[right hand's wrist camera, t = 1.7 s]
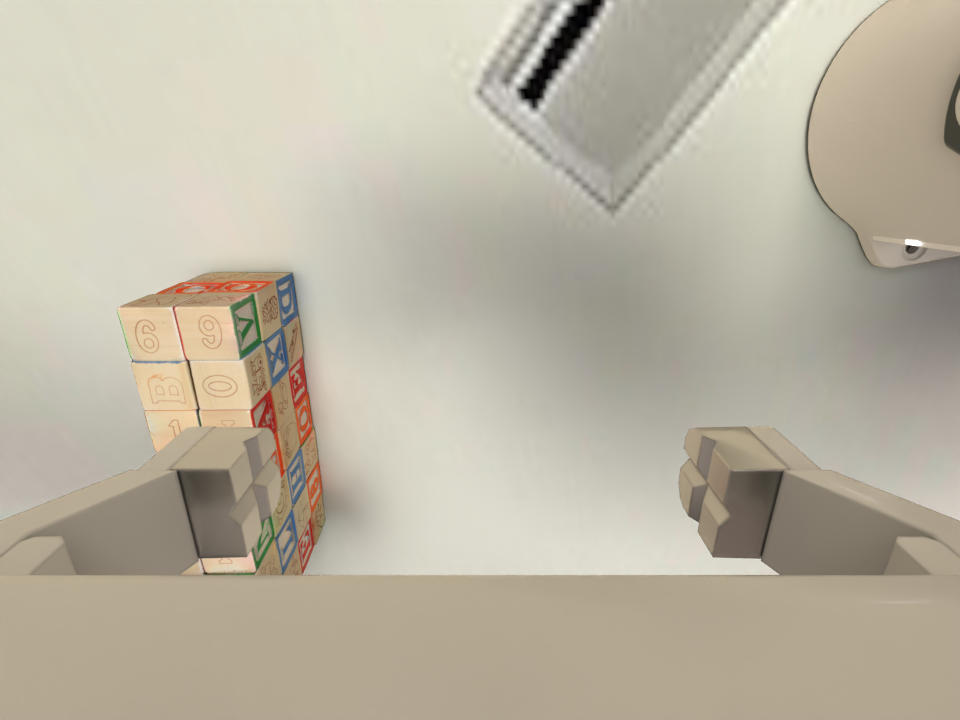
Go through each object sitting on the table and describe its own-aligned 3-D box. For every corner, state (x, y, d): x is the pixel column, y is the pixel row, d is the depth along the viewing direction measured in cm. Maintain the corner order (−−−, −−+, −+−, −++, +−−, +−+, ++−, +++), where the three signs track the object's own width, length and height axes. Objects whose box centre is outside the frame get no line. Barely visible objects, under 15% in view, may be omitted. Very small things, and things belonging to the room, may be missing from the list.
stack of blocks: (204, 270, 35) (71, 321, 24) (294, 270, 35) (205, 321, 24) (253, 523, 43) (170, 654, 31) (327, 523, 43) (272, 653, 31)
